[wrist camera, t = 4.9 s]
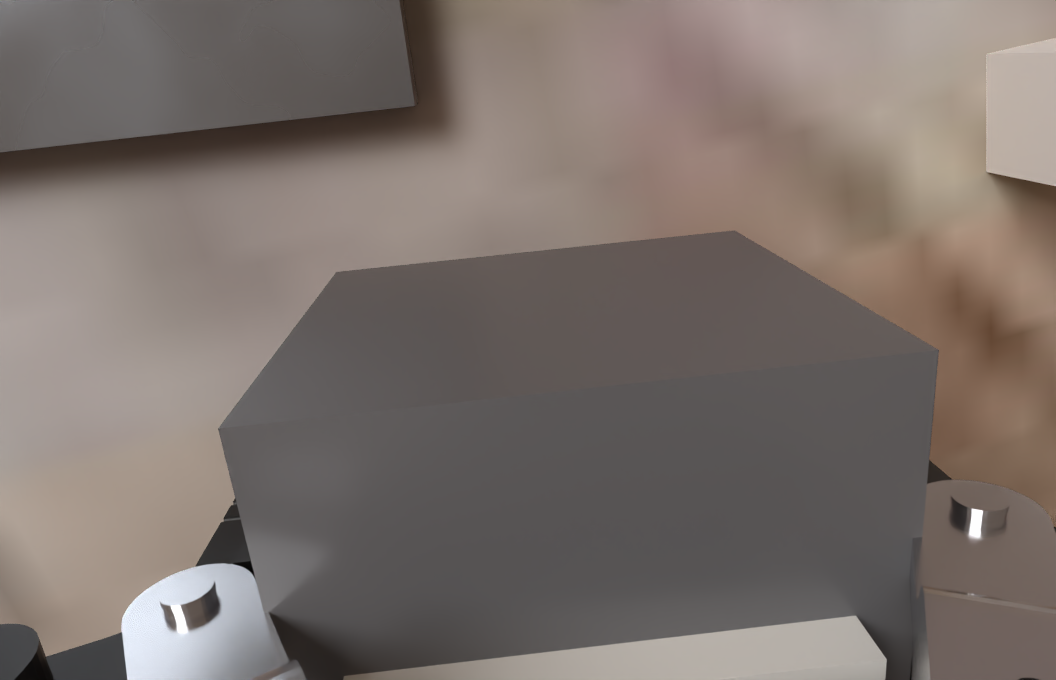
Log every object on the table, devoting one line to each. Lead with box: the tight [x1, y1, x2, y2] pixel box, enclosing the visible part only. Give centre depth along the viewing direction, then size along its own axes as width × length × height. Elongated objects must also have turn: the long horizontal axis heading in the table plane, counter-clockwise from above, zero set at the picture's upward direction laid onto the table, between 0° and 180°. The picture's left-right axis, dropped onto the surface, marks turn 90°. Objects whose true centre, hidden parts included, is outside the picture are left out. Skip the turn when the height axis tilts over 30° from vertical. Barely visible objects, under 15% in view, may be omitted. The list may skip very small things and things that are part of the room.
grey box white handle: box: [218, 231, 939, 680], centre depth 10 cm, size 6×6×6 cm
